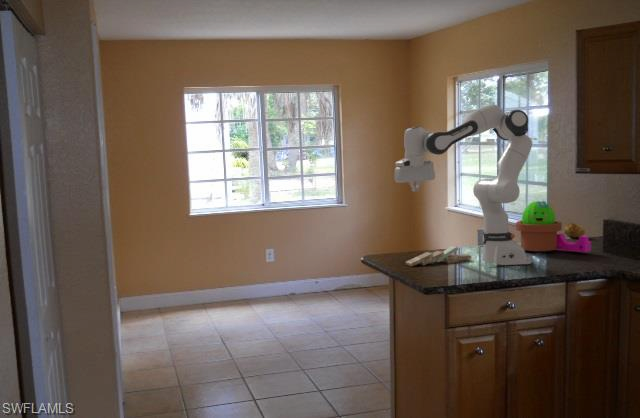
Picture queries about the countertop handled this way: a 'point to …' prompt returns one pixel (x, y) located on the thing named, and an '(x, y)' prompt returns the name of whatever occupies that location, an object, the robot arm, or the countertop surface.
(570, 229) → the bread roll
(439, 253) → the domino
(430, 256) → the domino far end
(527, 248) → the potted cactus
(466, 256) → the domino
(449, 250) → the sage domino
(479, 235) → the medicine box
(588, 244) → the magenta tape dispenser
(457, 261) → the domino
